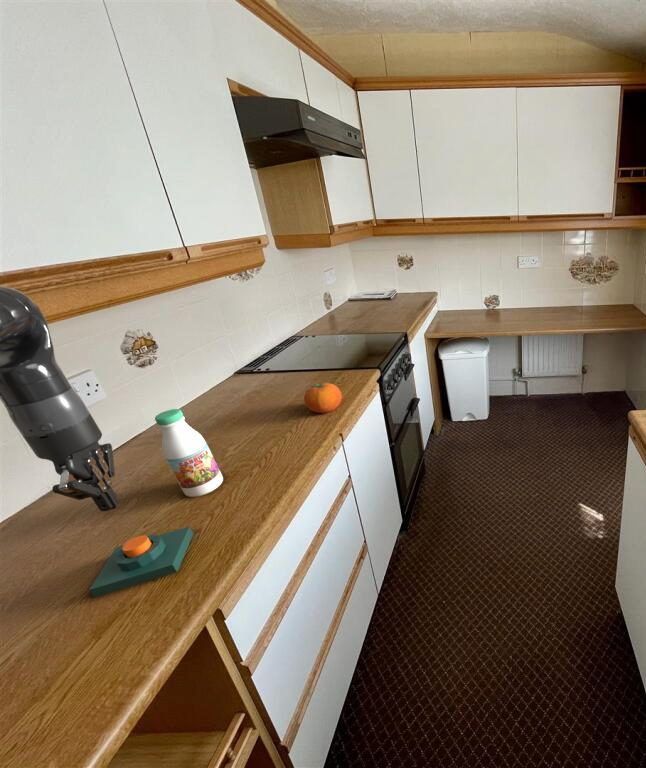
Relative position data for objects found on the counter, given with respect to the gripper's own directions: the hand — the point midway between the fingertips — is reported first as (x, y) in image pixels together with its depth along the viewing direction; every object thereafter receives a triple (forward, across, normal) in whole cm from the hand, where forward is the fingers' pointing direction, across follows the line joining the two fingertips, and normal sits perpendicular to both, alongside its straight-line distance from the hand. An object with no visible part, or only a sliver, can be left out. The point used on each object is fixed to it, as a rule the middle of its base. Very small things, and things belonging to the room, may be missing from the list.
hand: (111, 507), depth 70 cm
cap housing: (+14, 0, 0) cm, 14 cm away
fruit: (+14, -49, +31) cm, 60 cm away
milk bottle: (+14, -22, +4) cm, 26 cm away
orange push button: (+10, 0, 0) cm, 10 cm away
